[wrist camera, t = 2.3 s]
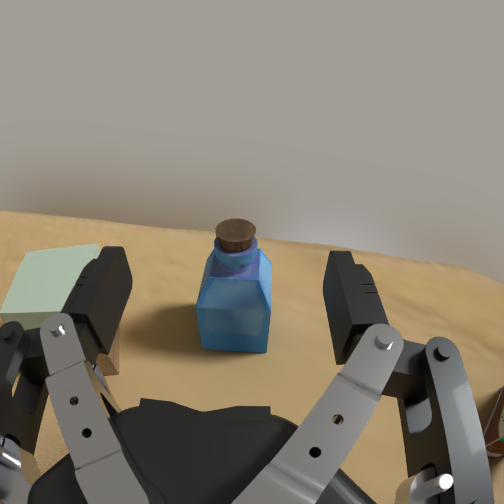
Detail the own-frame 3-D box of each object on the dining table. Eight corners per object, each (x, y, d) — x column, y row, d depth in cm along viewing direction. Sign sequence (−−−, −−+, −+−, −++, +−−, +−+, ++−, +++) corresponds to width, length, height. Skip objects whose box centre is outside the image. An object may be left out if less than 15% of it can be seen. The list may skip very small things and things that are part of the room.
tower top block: (25, 349, 22) (-1, 313, 19) (44, 288, 28) (27, 251, 25) (99, 349, 23) (78, 310, 20) (110, 283, 30) (97, 243, 26)
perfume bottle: (266, 353, 30) (276, 257, 22) (202, 348, 30) (188, 252, 22) (267, 305, 35) (275, 210, 27) (211, 302, 35) (203, 207, 27)
